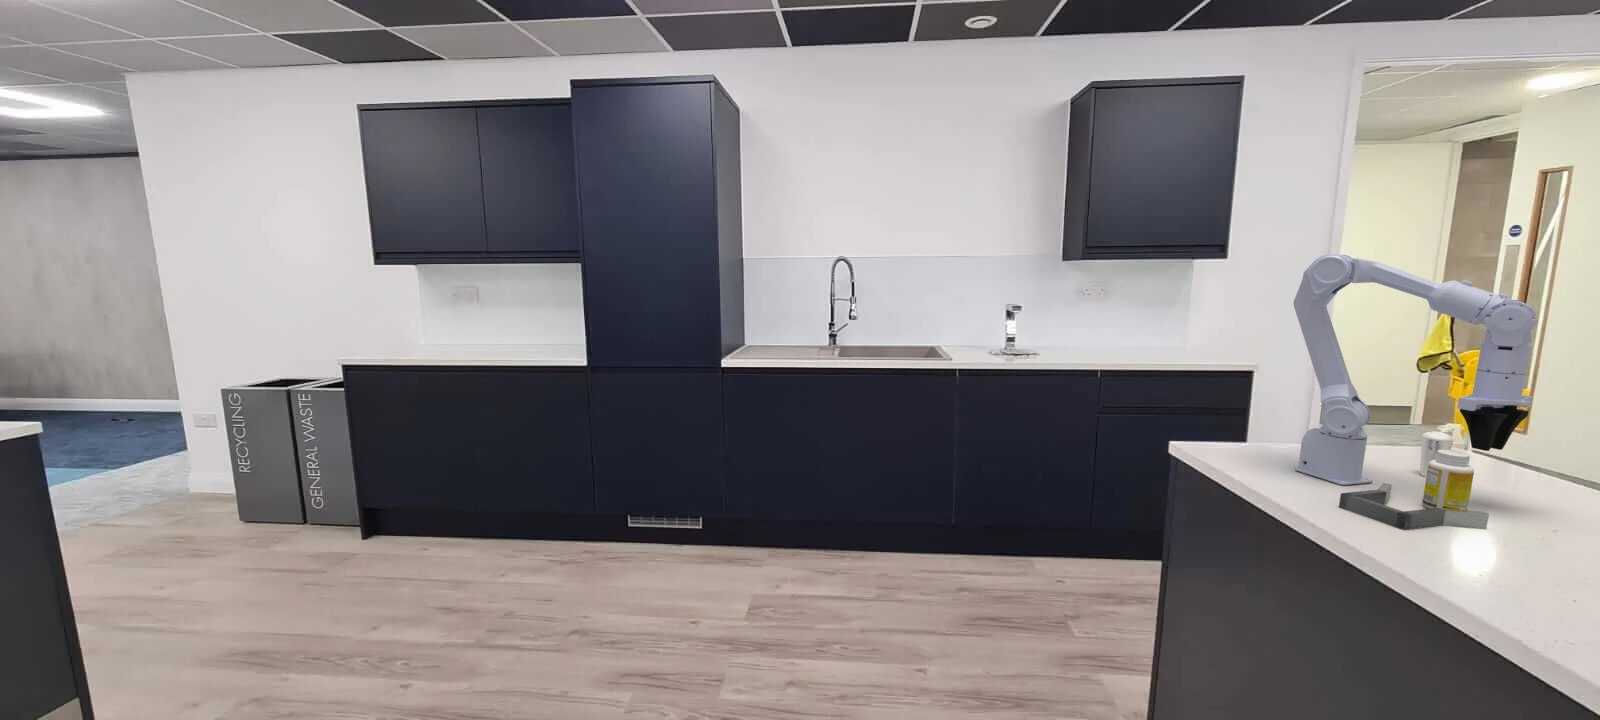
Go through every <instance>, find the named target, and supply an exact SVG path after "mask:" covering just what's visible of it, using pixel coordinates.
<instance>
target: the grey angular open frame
mask: <svg viewBox="0 0 1600 720" xmlns="http://www.w3.org/2000/svg"><path fill="white" fill-rule="evenodd" d="M1392 488H1393V484H1392V483H1388V482H1382V483H1381V485H1379V487H1378V488H1377V489H1370V490H1368V489H1367V490H1360V491H1350V492H1349V491H1348V492H1342V493H1340V495H1339V496H1340V497H1339V503H1338V507H1339V508H1341V509H1344V510H1347V511H1350V512H1351V513H1352V512H1353V513H1355V514H1358V515H1361V516H1364V517H1366V518H1368V519H1372V520H1375V521H1378V522H1380V523H1384V524H1386V525H1389V526H1392V527H1395V528H1397V529H1400V530H1404V531H1406V530H1414V529H1422V528H1429V527H1430V528H1432V527H1439V526H1446V527H1447V526H1448V527H1449V526H1451V527H1461V528H1472V529H1483V530H1484V529H1485V530H1487V527H1488V521H1489V515H1490V514H1489V513H1488V512H1485V511H1483V510H1475V509H1474V510H1471V509H1468V510H1461V509H1448V508H1430V509H1429V508H1424V509H1414V510H1406V511H1403V510H1399V509H1397V508H1394V507H1391V506H1388V505H1386V504H1387V502H1388V501H1389V500H1390V499H1391V493H1392Z"/></svg>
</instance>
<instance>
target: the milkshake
mask: <svg viewBox="0 0 1600 720" xmlns="http://www.w3.org/2000/svg"><path fill="white" fill-rule="evenodd" d="M1417 428H1418V430H1419V432H1420V435H1421V447H1420V449H1421V450H1420V467H1419V475H1420V476H1422V477H1425V478H1426V476H1427V469H1428V464H1429V462H1430V461H1431V460H1437V459H1436V454H1437V450H1452V447H1453V443H1454V441H1455V440H1454V438H1453V437H1452V435H1451V434H1447V433H1445V432H1443V431H1437V430H1432V431H1426V432H1424V433H1422V431H1421V429H1420V426H1419V425H1417Z"/></svg>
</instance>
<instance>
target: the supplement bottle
mask: <svg viewBox="0 0 1600 720" xmlns="http://www.w3.org/2000/svg"><path fill="white" fill-rule="evenodd" d="M1470 458H1471V456H1470V454H1468V453H1466V452H1463V451H1457V450H1452V449H1451V450H1437V454H1436V459H1437V460H1431V461H1430V462H1429V464H1428V469H1427V476H1426V477H1425V483H1424V490H1423V495H1422V505H1423V507H1425V508H1426V509H1430V508H1448V509H1461V510H1469V503H1470V497H1471V493H1472V492H1471V491H1472V486H1473V482H1474V481H1473V480H1474V479H1473V478H1474V476H1475V475H1474V474H1475V468H1474V466H1471V465H1469V463H1470Z"/></svg>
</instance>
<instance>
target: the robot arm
mask: <svg viewBox="0 0 1600 720" xmlns="http://www.w3.org/2000/svg"><path fill="white" fill-rule="evenodd" d="M1363 283H1364V284H1365V283H1366V284H1367V283H1368V284H1369V283H1374V284H1378V285H1382V286H1384V287H1387V288H1391V289H1395V290H1398V291H1400V292H1403V293H1406V294H1409V295H1413V296H1415V297H1419V298H1422V299H1425V300H1427V302H1428V306H1429V307H1430V309H1431V310H1432V311H1434V312H1438V313H1440V314H1443V315H1446V316H1448V317H1452V318H1454V319H1456V320H1457V319H1458V320H1460V321H1462V322H1466V323H1468V324H1471V325H1472V326H1473V325H1474V326H1477V325H1484V326H1485V328H1486V330H1485V336H1484V339H1483V342H1482V343H1481V344H1480V350H1479V354H1478V355H1479V356H1478V360H1477V366H1476V372H1475V377H1474V383H1473V388H1472V389H1473V390H1472V393H1470V394H1468V395H1466V396H1461V397H1458V402H1457V409H1458V410H1459V412H1460V414H1461V415H1462V417H1463V418H1464V421H1465V423H1466V426H1467V430H1468V435H1469V440H1470V446H1471V448H1472V449H1475V450H1480V451H1485V452H1488V451H1490V450H1491V449H1494V450H1499V451H1501V450H1502V451H1503V449H1504V448H1505V446H1506V444H1507V443H1508V441H1509V439H1510V437H1511V435H1512V434H1513V433H1514V431H1515V429H1516V428H1517V427H1518V426H1519V424H1520V423H1521V422H1522V421H1523V420H1525V419H1526V418H1527V417H1528V416H1529V411H1528V410H1525V409H1520V408H1521V407H1523V408H1531V407H1532V403H1533V398H1534V396H1532V395H1526V394H1525V395H1524V394H1523V390H1524V386H1525V380H1526V375H1527V369H1528V364H1529V360H1530V354H1531V349H1532V348H1531V346H1530V343H1531V342H1532V338H1533V336H1532V335H1533V334H1532V331H1533V330H1534V329H1535V327H1536V326H1537V324H1538V319H1537V314H1536V312H1535V310H1534V308H1533V307H1531V306H1530V305H1529V304H1528V303H1525V302H1522V301H1521V300H1519V299H1507V298H1509V295H1508V294H1505V293H1503V292H1500V294H1497V293H1493V292H1491V291H1488V290H1486V289H1485V290H1484V289H1482V288H1478V287H1475V286H1472V285H1473V284H1474V283H1473V282H1472V281H1469V280H1465V279H1463V280H1462V281H1461V282H1460V281H1457V280H1455V279H1454V280H1449V281H1445V282H1442V283H1437V282H1435V281H1432V280H1428V279H1427V278H1424V277H1421V276H1418V275H1415V274H1412V273H1409V272H1407V271H1404V270H1401V269H1398V268H1396V267H1394V266H1391V265H1388V264H1384V263H1383V262H1379V261H1374V260H1373V261H1372V260H1368V259H1363V258H1358V257H1352V256H1350V255H1348V254H1347V255H1346V254H1337V253H1326V254H1323V255H1321V256H1318V257H1317V258H1315V260H1314V261H1313V262H1312V263H1310V265H1309V266H1308V267H1307V268H1306V269H1305V270H1304V271H1303V274H1302V279H1301V281H1300V284H1299V287H1298V289H1297V291H1296V294H1295V297H1294V299H1293V308H1294V310H1295V314H1296V318H1297V320H1298V324H1299V327H1300V329H1301V332H1302V336H1303V339H1304V343H1305V345H1306V349H1307V352H1308V354H1309V357H1310V360H1311V363H1312V367H1313V369H1314V373H1315V376H1316V380H1317V382H1318V385H1319V388H1320V403H1321V405H1322V411H1321V415H1320V423H1321V425H1322V426H1320V427H1319V428H1317V427H1315V428H1311V429H1308V430H1307V431H1306V432H1305V434H1304V435H1303V437H1302V439H1301V443H1300V452H1299V458H1298V459H1299V460H1298V467H1295V468H1294V470H1295V471H1297V472H1301V473H1303V474H1306V475H1310V476H1312V477H1316V478H1319V479H1322V480H1325V481H1329V482H1331V483H1335V484H1338V485H1341V486H1348V485H1358V484H1368V483H1370V484H1371V483H1373V482H1374V480H1373V479H1371V478H1368V477H1364V476H1362V474H1363V470H1364V469H1363V468H1364V463H1365V462H1364V461H1365V455H1366V449H1367V442H1368V434H1367V433H1366V432H1365V430H1364V428H1362V427H1363V426H1365V425H1366V424H1367V423H1368V422H1369V421H1370V418H1371V411H1370V408H1369V406H1368V404H1366V403H1365V402H1364V401H1362V399H1361V398H1360V397H1359V395H1358V391H1357V390H1356V388H1355V386H1354V385H1353V383H1352V380H1351V378H1350V375H1349V372H1348V368H1347V365H1346V363H1345V359H1344V356H1343V353H1342V350H1341V346H1340V344H1339V341H1338V338H1337V335H1336V332H1335V328H1334V326H1333V322H1332V320H1331V319H1332V318H1330V313H1329V310H1328V304H1329V303H1330V302H1331V301H1332V300H1333V299H1334V297H1335V296H1336V295H1337V294H1338V292H1339V291H1341V290H1343V289H1344V288H1345V287H1347V286H1349V285H1350V284H1363ZM1518 407H1519V408H1518Z"/></svg>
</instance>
